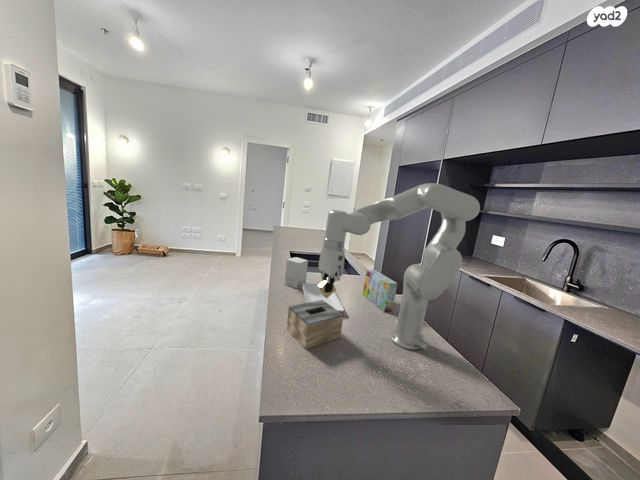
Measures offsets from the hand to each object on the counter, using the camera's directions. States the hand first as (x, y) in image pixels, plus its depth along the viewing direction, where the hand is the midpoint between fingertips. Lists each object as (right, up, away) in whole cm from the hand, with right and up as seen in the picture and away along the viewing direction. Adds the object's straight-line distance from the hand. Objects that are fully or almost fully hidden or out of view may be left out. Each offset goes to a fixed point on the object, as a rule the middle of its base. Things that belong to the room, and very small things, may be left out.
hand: (326, 290), depth 101 cm
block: (+1, -1, +1) cm, 2 cm away
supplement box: (-17, -7, +51) cm, 54 cm away
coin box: (-5, -18, +3) cm, 18 cm away
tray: (-2, -12, +33) cm, 36 cm away
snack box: (+28, -14, +39) cm, 50 cm away
